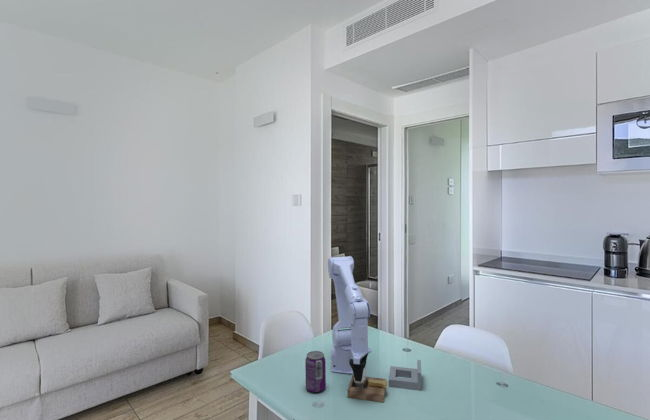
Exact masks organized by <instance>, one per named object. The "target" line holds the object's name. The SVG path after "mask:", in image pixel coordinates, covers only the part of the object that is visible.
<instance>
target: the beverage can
mask: <svg viewBox="0 0 650 420" xmlns="http://www.w3.org/2000/svg"><path fill="white" fill-rule="evenodd" d="M304 364H305V367H304V368H305V369H304V370H305V388H306V390H307V391H309V392H312V393H318V392H321V391H325V388H326V386H327V383H326V382H327V381H326V380H327V379H326V378H327V375H326V372H327V371H326V357H325V353H324V352H322V351H319V350H312V351H310V352H308V353H306V357H305V363H304Z"/></svg>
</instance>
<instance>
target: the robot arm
mask: <svg viewBox="0 0 650 420" xmlns="http://www.w3.org/2000/svg"><path fill="white" fill-rule="evenodd" d="M354 268H355V261H354V258H353V257H352V256H351V255H349V256H334V257H333V256H330V257H329V258H328V260H327V270H328V272H327V273H328V278H329V279H331V280H332V281H333V285H334V292H335V301H336V309H337V318H338V321H337V322H336V323H335V324H334V325H333V327H332V343H333V345H332V346H331V352H330V372H331V373H338V374H339V373H340V374H348V375H354V378H355V381H358V382H361V381H362V376H363V370H364V367H365V368H366V366H367V365H366V364H367V358H368V356H369V354H371V353H372V348H369V328H368V327H369V323H368V321H369V318H370V317H371V306H370V303H369V302H368V300H367V299H366V298H364V296H363V293H362V291H361V289H360V286H359V285H358V284H356V282H355V279H354V275H353V272H354Z"/></svg>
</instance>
